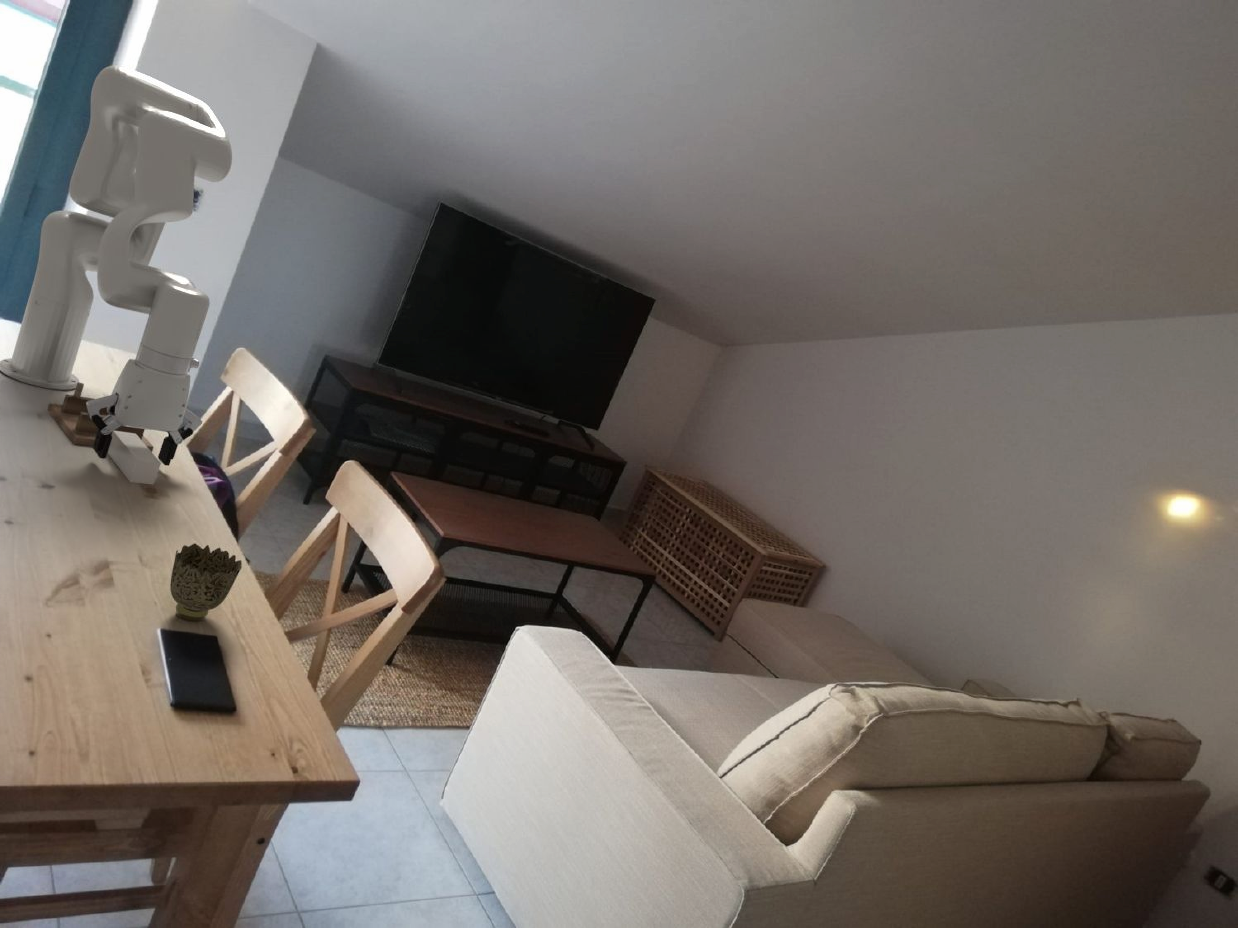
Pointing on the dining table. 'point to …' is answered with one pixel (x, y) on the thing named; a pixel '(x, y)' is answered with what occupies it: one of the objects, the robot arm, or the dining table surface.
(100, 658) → the dining table surface
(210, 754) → the dining table surface
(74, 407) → the walnut rack
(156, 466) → the white rectangular block
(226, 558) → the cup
